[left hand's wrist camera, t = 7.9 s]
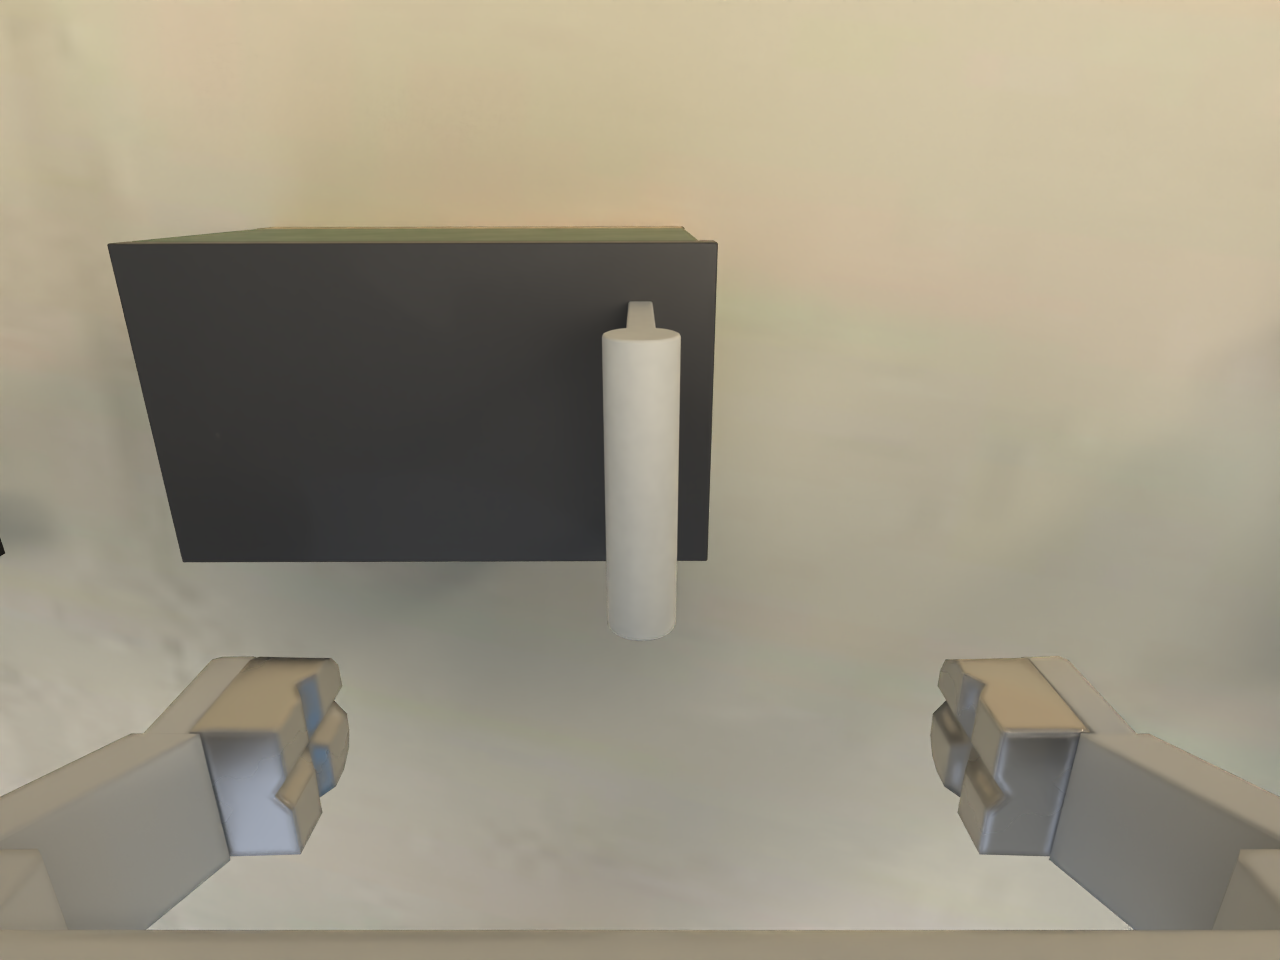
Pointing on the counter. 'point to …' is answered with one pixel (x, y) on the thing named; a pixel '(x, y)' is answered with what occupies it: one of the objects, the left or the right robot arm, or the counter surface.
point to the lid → (434, 402)
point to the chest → (443, 234)
